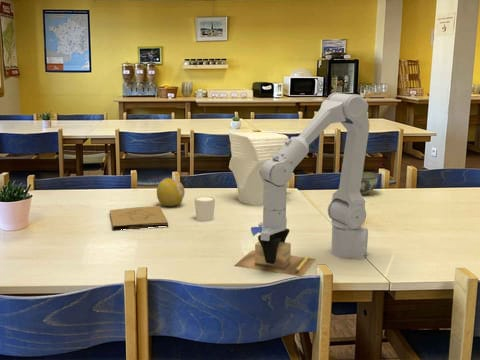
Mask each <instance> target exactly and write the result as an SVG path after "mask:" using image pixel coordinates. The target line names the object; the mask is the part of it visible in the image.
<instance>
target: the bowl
mask: <svg viewBox="0 0 480 360" xmlns="http://www.w3.org/2000/svg"><path fill="white" fill-rule="evenodd" d="M379 177H380V175H379V174H378V173H376V172H370V171H363V174H362V181H361V187H360V193H361V195H362V196H368V195H369V193H370V192H372V191H373V190H374V189H375V188H376V186H377V184H378V180H379Z"/></svg>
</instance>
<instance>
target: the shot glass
mask: <svg viewBox="0 0 480 360" xmlns="http://www.w3.org/2000/svg"><path fill="white" fill-rule="evenodd" d="M215 203H216V199H215V197H211V196H198V197H195V198H194V205H195V206H194V208H195V217H196V218H197V219H196V218H195V219H196V220H197V221H199V220H200V221H199V222H209V221H210V222H211V221H213V220H214V216H215V215H214V214H215Z"/></svg>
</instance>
